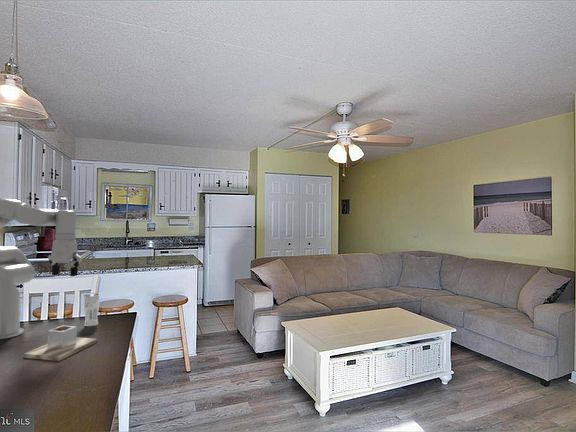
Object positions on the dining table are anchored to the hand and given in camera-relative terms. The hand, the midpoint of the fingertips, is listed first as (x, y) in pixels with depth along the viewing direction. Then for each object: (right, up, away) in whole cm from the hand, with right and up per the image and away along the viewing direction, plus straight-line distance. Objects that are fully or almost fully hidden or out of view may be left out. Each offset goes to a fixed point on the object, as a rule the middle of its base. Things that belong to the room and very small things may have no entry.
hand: (64, 275), depth 150 cm
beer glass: (+2, -28, +17) cm, 33 cm away
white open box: (+8, -26, -14) cm, 31 cm away
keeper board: (+8, -28, -14) cm, 32 cm away
